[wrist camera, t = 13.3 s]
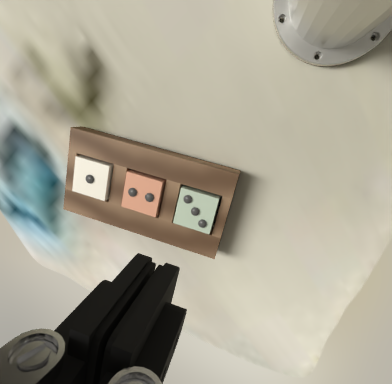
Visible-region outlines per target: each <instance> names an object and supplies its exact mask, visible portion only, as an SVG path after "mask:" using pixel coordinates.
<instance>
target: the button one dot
mask: <svg viewBox="0 0 392 384" xmlns="http://www.w3.org/2000/svg"><path fill="white" fill-rule="evenodd" d="M113 167H114V164H112V163H109V162H105V161H102V160H99V159H95V158H92V157H88V156H85V155H79V156H76V157H75V167H74V177H73V188H72V191H74V192H77V193H80V194H84V195H87V196H90V197H93V198H96V199H99V200H102V201H106V200H108V199H109V195H110V188H111V181H112V174H113Z"/></svg>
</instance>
